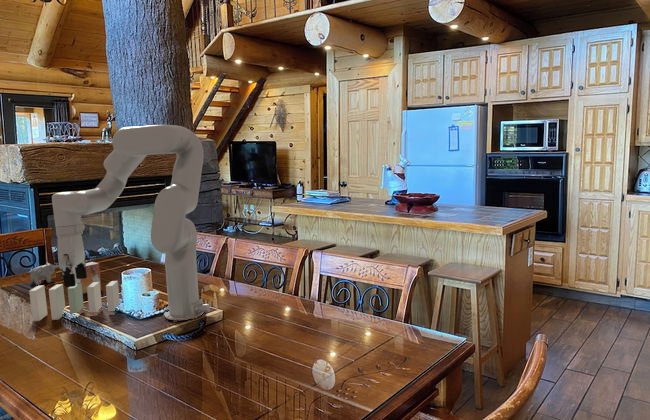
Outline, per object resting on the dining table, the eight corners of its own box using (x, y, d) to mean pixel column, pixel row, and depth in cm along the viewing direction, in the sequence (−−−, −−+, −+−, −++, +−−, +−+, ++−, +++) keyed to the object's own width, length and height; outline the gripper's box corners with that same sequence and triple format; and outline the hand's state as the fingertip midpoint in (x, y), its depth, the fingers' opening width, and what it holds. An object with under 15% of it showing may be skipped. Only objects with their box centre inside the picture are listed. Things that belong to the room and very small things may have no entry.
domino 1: (47, 314, 163) (44, 285, 161) (39, 320, 157) (35, 290, 155) (41, 314, 162) (37, 285, 161) (32, 321, 157) (29, 290, 155)
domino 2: (66, 313, 163) (62, 284, 162) (58, 319, 157) (55, 289, 156) (59, 313, 163) (56, 284, 162) (51, 319, 157) (48, 289, 156)
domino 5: (120, 309, 165) (117, 280, 164) (114, 315, 159) (112, 285, 158) (114, 309, 165) (111, 281, 164) (108, 316, 159) (105, 286, 158)
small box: (81, 294, 184) (78, 267, 183) (74, 292, 187) (71, 265, 186) (102, 289, 190) (99, 263, 189) (94, 287, 194) (92, 261, 192)
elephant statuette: (26, 285, 202) (23, 267, 200) (53, 276, 212) (50, 259, 211) (40, 287, 198) (37, 269, 196) (67, 278, 208) (64, 260, 207)
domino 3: (84, 312, 164) (81, 283, 163) (77, 318, 158) (74, 288, 157) (77, 312, 164) (74, 283, 162) (70, 318, 158) (67, 288, 157)
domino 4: (102, 310, 165) (99, 281, 163) (96, 316, 159) (93, 286, 157) (96, 311, 164) (93, 282, 163) (89, 317, 159) (86, 287, 157)
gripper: (67, 227, 165) (74, 276, 168) (45, 236, 148) (52, 291, 151) (91, 225, 166) (97, 274, 168) (71, 234, 149) (78, 288, 151)
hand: (76, 282), depth 159 cm, fingers open, 9 cm apart
